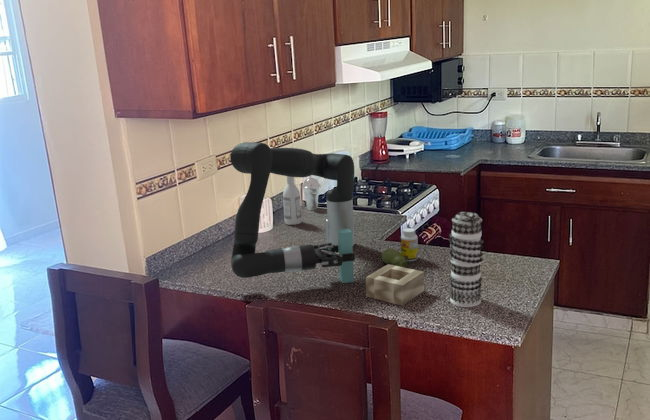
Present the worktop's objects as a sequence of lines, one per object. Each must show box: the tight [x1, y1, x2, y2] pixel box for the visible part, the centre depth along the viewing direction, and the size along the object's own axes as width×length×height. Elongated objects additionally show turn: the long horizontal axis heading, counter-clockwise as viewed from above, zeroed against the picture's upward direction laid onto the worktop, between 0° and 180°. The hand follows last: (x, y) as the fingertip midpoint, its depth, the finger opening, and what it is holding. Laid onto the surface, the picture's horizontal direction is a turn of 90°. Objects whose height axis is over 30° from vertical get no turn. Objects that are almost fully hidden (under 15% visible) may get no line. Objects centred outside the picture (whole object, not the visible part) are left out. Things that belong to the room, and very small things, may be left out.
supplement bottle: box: [400, 227, 419, 263], centre depth 203 cm, size 6×6×10 cm
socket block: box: [365, 264, 425, 306], centre depth 177 cm, size 12×12×6 cm
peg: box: [337, 229, 355, 284], centre depth 187 cm, size 4×4×16 cm
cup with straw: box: [301, 175, 321, 211], centre depth 269 cm, size 8×9×20 cm
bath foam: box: [282, 176, 302, 226], centre depth 249 cm, size 7×7×20 cm
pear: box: [381, 247, 408, 268], centre depth 199 cm, size 6×5×10 cm
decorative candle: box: [448, 211, 485, 308], centre depth 168 cm, size 9×9×25 cm
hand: (350, 252), depth 187 cm, fingers open, 8 cm apart
